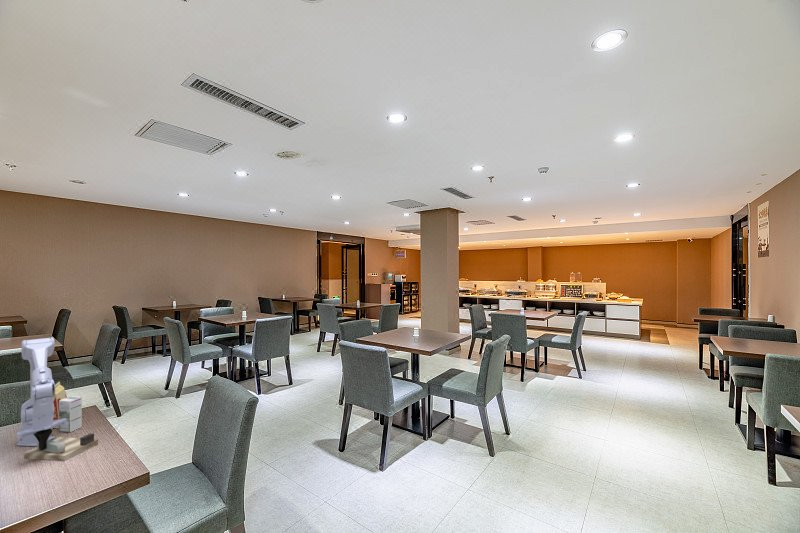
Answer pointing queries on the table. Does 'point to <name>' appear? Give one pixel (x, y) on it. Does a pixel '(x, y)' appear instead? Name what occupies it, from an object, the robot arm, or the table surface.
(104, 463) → the table surface
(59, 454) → the stool seat
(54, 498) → the table surface
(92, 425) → the table surface
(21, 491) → the table surface
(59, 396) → the milk carton
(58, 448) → the stool leg
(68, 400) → the syrup box
